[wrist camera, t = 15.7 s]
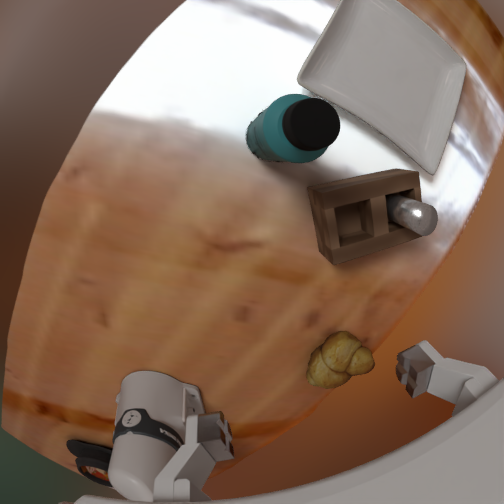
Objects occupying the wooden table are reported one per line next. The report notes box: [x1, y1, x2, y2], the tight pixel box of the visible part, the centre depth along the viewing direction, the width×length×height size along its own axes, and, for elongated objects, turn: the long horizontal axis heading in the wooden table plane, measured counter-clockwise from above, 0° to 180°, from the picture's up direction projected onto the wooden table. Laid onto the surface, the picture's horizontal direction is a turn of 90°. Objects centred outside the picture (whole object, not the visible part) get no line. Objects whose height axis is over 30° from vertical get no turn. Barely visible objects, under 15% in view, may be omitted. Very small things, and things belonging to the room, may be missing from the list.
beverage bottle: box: [246, 94, 340, 163], centre depth 27 cm, size 6×7×20 cm
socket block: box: [307, 169, 422, 265], centre depth 38 cm, size 10×16×6 cm, turn 104°
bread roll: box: [306, 331, 375, 389], centre depth 46 cm, size 13×10×8 cm
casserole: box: [66, 440, 114, 488], centre depth 52 cm, size 25×19×8 cm
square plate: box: [297, 0, 466, 175], centre depth 33 cm, size 27×27×4 cm
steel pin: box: [385, 193, 438, 236], centre depth 35 cm, size 4×4×10 cm
